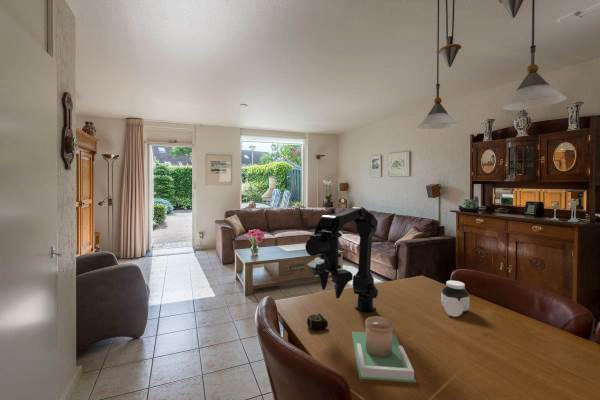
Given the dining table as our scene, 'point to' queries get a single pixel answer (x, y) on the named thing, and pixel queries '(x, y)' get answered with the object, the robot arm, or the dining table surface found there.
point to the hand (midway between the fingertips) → (330, 293)
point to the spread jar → (455, 298)
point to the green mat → (375, 361)
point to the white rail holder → (386, 372)
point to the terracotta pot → (379, 336)
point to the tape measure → (317, 322)
